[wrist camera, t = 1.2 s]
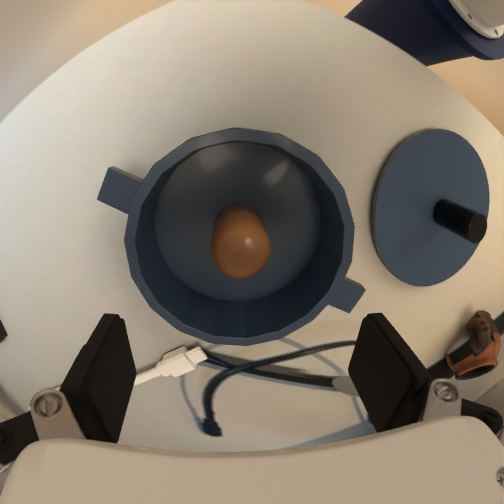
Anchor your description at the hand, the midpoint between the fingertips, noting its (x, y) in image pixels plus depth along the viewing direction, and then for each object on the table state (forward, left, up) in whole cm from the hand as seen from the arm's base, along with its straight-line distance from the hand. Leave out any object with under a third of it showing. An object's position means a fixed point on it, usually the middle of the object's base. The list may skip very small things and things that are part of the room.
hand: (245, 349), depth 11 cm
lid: (-11, +17, -15) cm, 25 cm away
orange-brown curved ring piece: (-1, +37, -15) cm, 40 cm away
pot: (0, 0, -15) cm, 15 cm away
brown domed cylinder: (0, 0, -15) cm, 15 cm away
